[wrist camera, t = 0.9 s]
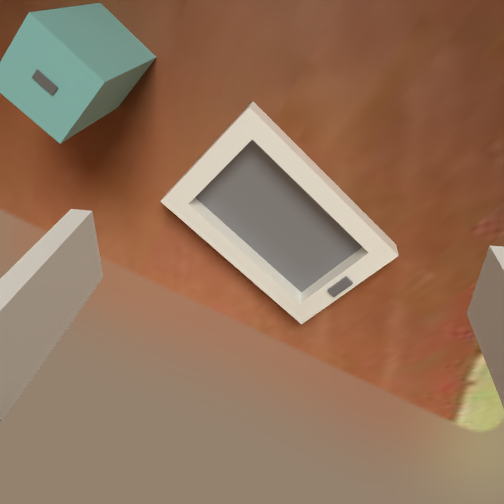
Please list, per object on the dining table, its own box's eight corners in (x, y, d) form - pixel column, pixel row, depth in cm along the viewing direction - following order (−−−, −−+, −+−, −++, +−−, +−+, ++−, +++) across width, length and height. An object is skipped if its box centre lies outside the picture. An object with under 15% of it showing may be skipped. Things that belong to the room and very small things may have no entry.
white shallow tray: (167, 192, 39) (159, 203, 38) (252, 101, 35) (248, 108, 33) (302, 311, 43) (301, 326, 42) (395, 244, 39) (398, 257, 37)
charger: (63, 58, 35) (-13, 83, 27) (100, 2, 33) (27, 12, 25) (117, 107, 36) (59, 144, 29) (156, 57, 34) (104, 82, 26)
